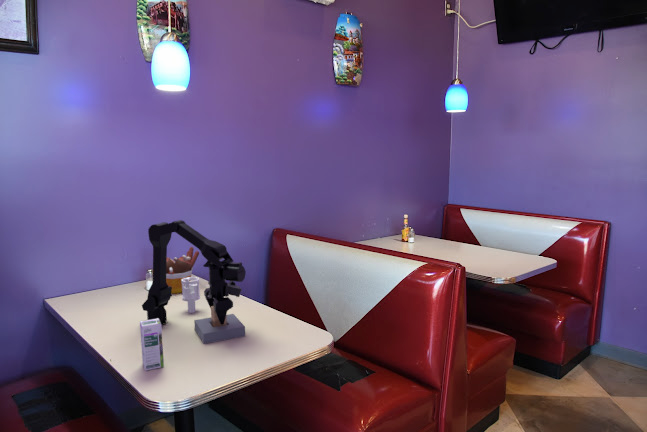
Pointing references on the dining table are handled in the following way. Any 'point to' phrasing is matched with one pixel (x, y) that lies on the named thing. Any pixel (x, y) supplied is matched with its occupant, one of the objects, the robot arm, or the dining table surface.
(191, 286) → the windowed cylinder housing
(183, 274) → the bucket of meat
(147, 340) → the syrup box
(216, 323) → the oak peg
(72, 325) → the dining table surface
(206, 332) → the socket block
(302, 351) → the dining table surface
